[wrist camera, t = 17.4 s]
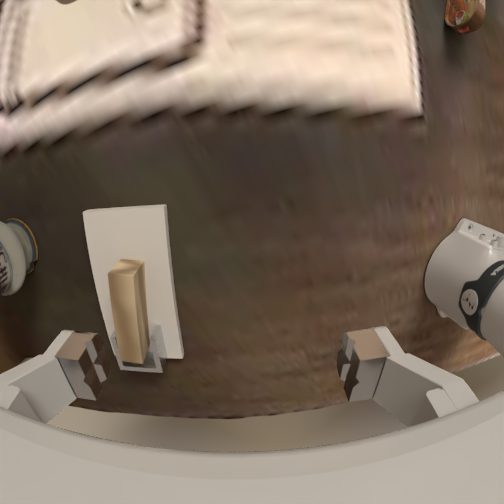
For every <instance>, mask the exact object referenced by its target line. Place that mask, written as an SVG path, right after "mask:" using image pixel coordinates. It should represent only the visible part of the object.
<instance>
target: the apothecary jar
mask: <svg viewBox="0 0 504 504" xmlns="http://www.w3.org/2000/svg"><path fill="white" fill-rule="evenodd" d="M37 257H38V251H37V245H36V241H35V238H34V236H33V234H32V232H31V230H30V229H29V227H28V226H27V225H26V224H25V223H24V222H22V221H21V220H18V219H14V218H12V219H8V220H6V221H5V222H4V223H3V222H0V295H12V294H14V293H16V292H17V291H18V290H19V289H20V288H21V287H22V285H23V283H24V280H25V276H26V274H28V273H30V272H31V271H33V269H34V262H35V261H36V260H37Z"/></svg>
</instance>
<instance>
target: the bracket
mask: <svg viewBox="0 0 504 504" xmlns="http://www.w3.org/2000/svg"><path fill="white" fill-rule="evenodd" d="M83 219H84V226H85V233H86V239H87V245H88V251H89V256H90V262H91V267H92V272H93V277H94V281H95V286H96V290H97V294H98V299H99V303H100V307H101V311H102V314H103V318H104V322H105V326H106V329H107V333H108V336H109V339H110V343H111V346H112V349H113V352H114V355H116V358H117V361H118V364H119V367H120V370H130V371H142V372H158V373H163V370H164V366H165V363H166V359H167V358H179V359H183V355H184V350H183V344H182V338H181V332H180V325H179V318H178V311H177V304H176V296H175V288H174V280H173V271H172V262H171V252H170V242H169V230H168V218H167V205H148V206H132V207H117V208H104V209H91V210H86V211H84V212H83ZM120 259H129V260H140V261H144V264H145V286H146V302H147V316H148V327H149V338H150V346H149V348H148V351H147V354H146V357H145V359H144V362H143V364H139V363H132V362H126V361H120V356H119V351H118V345H117V340H116V334H115V328H114V321H113V314H112V307H111V300H110V291H109V282H108V273H109V271H110V270H111V269H112V268H113V267H114V266H115V265H116V264H117V262H118V261H119V260H120Z"/></svg>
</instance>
